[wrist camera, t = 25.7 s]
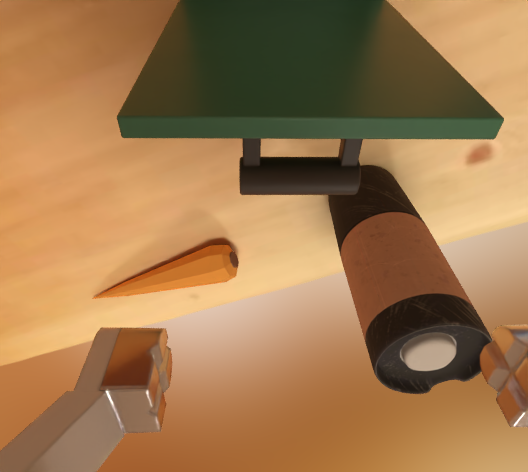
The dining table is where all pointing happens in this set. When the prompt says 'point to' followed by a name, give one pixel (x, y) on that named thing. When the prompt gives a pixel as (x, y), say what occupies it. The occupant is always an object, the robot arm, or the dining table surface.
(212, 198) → the dining table surface
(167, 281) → the carrot
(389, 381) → the travel mug
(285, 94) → the lunchbox lid
